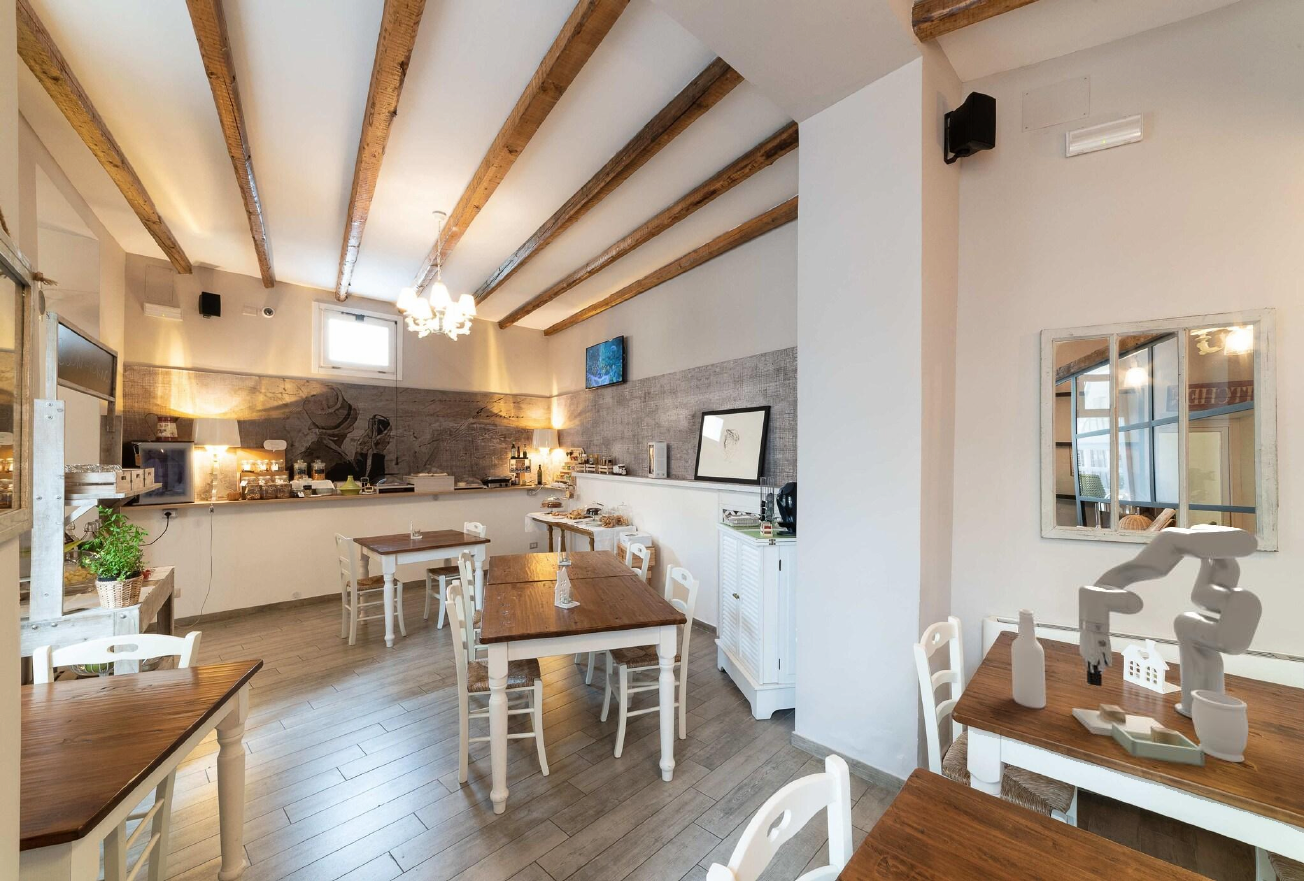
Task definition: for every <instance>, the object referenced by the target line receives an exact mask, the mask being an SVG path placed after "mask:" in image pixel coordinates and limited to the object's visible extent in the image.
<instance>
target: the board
mask: <svg viewBox="0 0 1304 881" xmlns="http://www.w3.org/2000/svg"><path fill="white" fill-rule="evenodd" d="M1072 715H1073V716H1074V717H1075V719H1077V720H1078V721H1079V722H1080V723H1081V724H1082V725H1083V726H1084V727H1085V728H1086V729H1087V730H1088V731H1089V732H1090V733H1091V734H1096V735H1102V736H1109V737H1112V723H1115V724H1117V725H1118V726H1119V727H1120V728H1121V729H1122V730H1124V731H1125V732H1126V733H1127V734H1128V735H1129V736H1131V737H1132V738H1138V739H1145V740H1151V727H1150V726H1153V727H1160V728H1166V727H1165V726H1163V725H1162V724H1161V723H1159V722H1158V721H1156V720H1155V719H1154V718H1153V717H1147V716H1139V715H1131V714H1126V723H1123V722H1116V721H1108V720H1106V719H1105V718H1104V717H1103V716H1102V715H1101V714H1100V712H1099V710H1092V709H1083V708H1076V707H1075V708H1074V707H1073V708H1072Z"/></svg>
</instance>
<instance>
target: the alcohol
mask: <svg viewBox="0 0 1304 881" xmlns="http://www.w3.org/2000/svg"><path fill="white" fill-rule="evenodd" d="M1018 616H1019V617H1018V618H1019V620H1018V634H1017V637H1016V638H1015V639H1014V640H1013V641H1012V643H1011V647H1010V648H1011V650H1010V653H1011V676H1012V680H1011V682H1012V698H1013V700H1014V701H1015V703H1017V704H1019V705H1021V706H1024V707H1027V708H1031V709H1043V708H1044V707H1045V706H1046V705H1047V702H1046V701H1047V700H1046V699H1047V698H1046V672H1045V671H1046V670H1045V667H1046V666H1045V651H1044V649H1043V646H1042V644H1041V643H1039V641H1038V639H1037V636H1036V628H1035V622H1034V617H1035V616H1034V612H1033V611H1032V610H1028V609H1019V610H1018Z"/></svg>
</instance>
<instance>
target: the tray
mask: <svg viewBox="0 0 1304 881" xmlns="http://www.w3.org/2000/svg"><path fill="white" fill-rule="evenodd" d="M1173 731H1174V732H1175V733H1177V734H1178V746H1174V745H1167V744H1160V743H1152V742H1151V740H1145V739H1138V738H1132V737H1131V736H1129V735H1128V734H1127V733H1126V732H1125V731H1124V730H1122V729H1121V728H1120V727H1119V726H1118V725H1117V724H1115V723H1112V736H1111V737H1112V738H1113V739H1114V740H1115V741H1116V742H1117V743H1119V745H1120V746H1121V747H1122V748H1124V749H1125V750H1126V751H1127V752H1128V753H1129V754H1130V755H1132V756H1133V757H1135V758H1144V759H1150V760H1156V761H1163V762H1171V763H1179V764H1185V765H1191V766H1198V767H1206V761H1205V752H1204V750H1202V749H1201V748H1199V745H1197V744H1195V743H1194V742H1193V741H1191V740H1190V739H1188V738H1187V737H1186V736H1185V735H1183V734H1182V733H1180V732H1179V731H1177V730H1173Z"/></svg>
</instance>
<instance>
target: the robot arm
mask: <svg viewBox="0 0 1304 881" xmlns="http://www.w3.org/2000/svg"><path fill="white" fill-rule="evenodd" d="M1258 547H1259V542H1258V538H1257V537H1256V536H1255V535H1254V534H1253V533H1252V532H1250V531H1248V530H1245V529H1242V528H1235V527H1228V526H1219V525H1211V524H1198V525H1193V526H1191V527H1190V528H1189V529H1188V528H1187V529H1186V528H1180V527H1166V528H1164V529H1162V530H1160V531H1159V532H1158V533H1157V534H1156V535H1155V536H1154V537H1153V538H1152V539H1151V540H1150V541H1149V543H1148V544H1147V545H1146V546H1145V547H1143V549H1142V550H1141V551H1140V552H1139V553H1138V554H1137V555H1136V556H1135V557H1134V558H1133V559H1131V560H1128V561H1125V562H1123V563H1120V564H1118V565H1117V566H1114V567H1112V568H1110V569H1109V570H1107V571H1105V572H1104V573H1103V574H1102V575H1101V576H1100V577H1099V578H1098V579H1097V580H1096V582H1094V583H1093V585H1092V586H1091V585H1090V586H1089V585H1083V586H1080V587H1079V589H1078V629H1079V630H1080V631H1079V647H1078V648H1079V654H1080V656H1081V657H1082V658H1083V660H1084V661H1085V667H1086V683H1088V684H1089V685H1090V686H1097V687H1102V686H1103V685H1102V684H1103V683H1102V682H1103V679H1102V676H1103V675H1102V674H1103V672H1106V667H1108V668H1111V667H1112V666H1113V657H1112V656H1113V653H1112V644H1111V639H1110V633H1111V628H1110V622H1111V620H1110V617H1111V616H1110V615H1111V614H1110V613H1117V614H1121V615H1136V614H1138V613H1140V612H1142V610H1143V608H1144V601H1143V599H1142V598H1141V597H1140V595H1138V594H1137V593H1135V592H1134V591H1130V590H1129V589H1128V590H1127V589H1125V588H1126V587H1128V586H1130V585H1132V584H1135V583H1139V582H1145V581H1153V580H1159V579H1163V578H1165V577H1167V576H1168V575H1169V573H1170V572H1172V570H1174V568H1175V567H1176V566H1177V565H1178V564H1179V563H1180V562H1181V561H1182V560H1184V558H1185V557H1188V558H1194V559H1200V567H1199V571H1198V574H1197V577H1196V579H1195V582H1194V586H1193V588H1192V590H1191V593H1190V601H1191V603H1192V604H1193V605H1194V606H1195V607H1197V608H1198V609H1200V610H1202V611H1206V612H1209V613H1212V614H1215V615H1219V618H1216V617H1213V616H1209V615H1207V614H1204V613H1198V612H1192V611H1189V612H1188V611H1186V612H1185V611H1184V612H1182V613H1180V614H1177V616H1176V617H1175V618H1174V620H1173V630H1174V634H1175V638H1176V640H1177V645H1178V652H1179V655H1178V656H1179V675H1180V693H1181V694H1180V696H1181V698H1180V699H1181V702H1178V703H1176V704H1175V705H1174V709H1175V711H1176V712H1178V713H1179V714H1180V715H1183V716H1185V717H1187V718H1189V719H1192V703H1193V700H1194V698H1193V697H1192V696H1191V691H1194V690H1204V691H1211V692H1216V693H1221V694H1225V695H1226V689H1225V688H1226V687H1225V665H1224V660H1223V657H1222V654H1225V655H1228V656H1229V655H1230V656H1239V655H1242V654H1244V653H1245V652H1247V651H1248V649H1249V648H1250V647H1251V645H1252V642H1253V640H1254V637H1255V634H1256V631H1257V628H1258V625H1259V623H1260V620H1261V617H1262V613H1263V608H1262V606H1263V605H1262V602H1261V600H1260V599H1259V597H1258V596H1257V595H1256V594H1254V593H1253V592H1252V591H1250V590H1247V589H1246V588H1245V589H1244V588H1242V587H1238V584H1239V581H1240V580H1239V579H1240V576H1241V567H1240V565H1239V562H1238V561H1237V559H1236V558H1244V557H1245V558H1246V557H1248V556H1251V555H1253V554H1254V553H1255V552H1256V551H1257V550H1258ZM1221 653H1222V654H1221ZM1244 712H1245V714H1246V717H1247V716H1248V712H1247V709H1246V710H1244Z"/></svg>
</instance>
